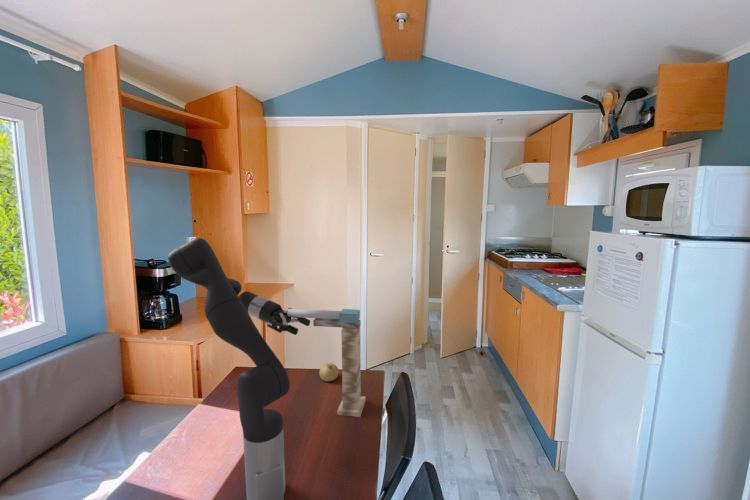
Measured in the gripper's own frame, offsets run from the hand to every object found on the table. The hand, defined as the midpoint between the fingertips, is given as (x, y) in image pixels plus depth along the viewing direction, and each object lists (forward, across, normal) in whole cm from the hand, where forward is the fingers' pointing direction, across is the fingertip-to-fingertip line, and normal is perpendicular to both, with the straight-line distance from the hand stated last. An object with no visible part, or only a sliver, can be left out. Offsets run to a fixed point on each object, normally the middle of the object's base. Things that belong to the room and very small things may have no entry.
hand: (303, 327), depth 116 cm
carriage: (+5, +3, -5) cm, 7 cm away
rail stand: (+20, +3, +24) cm, 32 cm away
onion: (+9, +20, +28) cm, 36 cm away
